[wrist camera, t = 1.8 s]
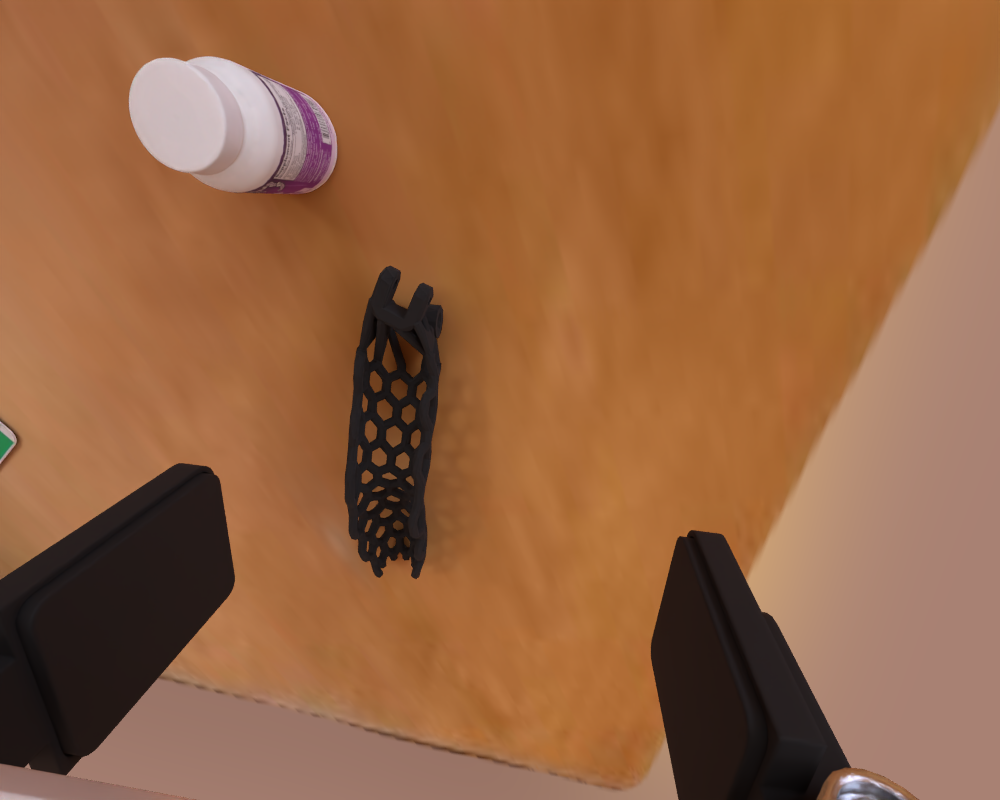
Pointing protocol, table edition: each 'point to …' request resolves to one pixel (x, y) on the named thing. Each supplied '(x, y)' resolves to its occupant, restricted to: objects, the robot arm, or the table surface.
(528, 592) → the table surface
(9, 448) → the sign
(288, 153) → the pill bottle
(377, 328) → the decorative element
